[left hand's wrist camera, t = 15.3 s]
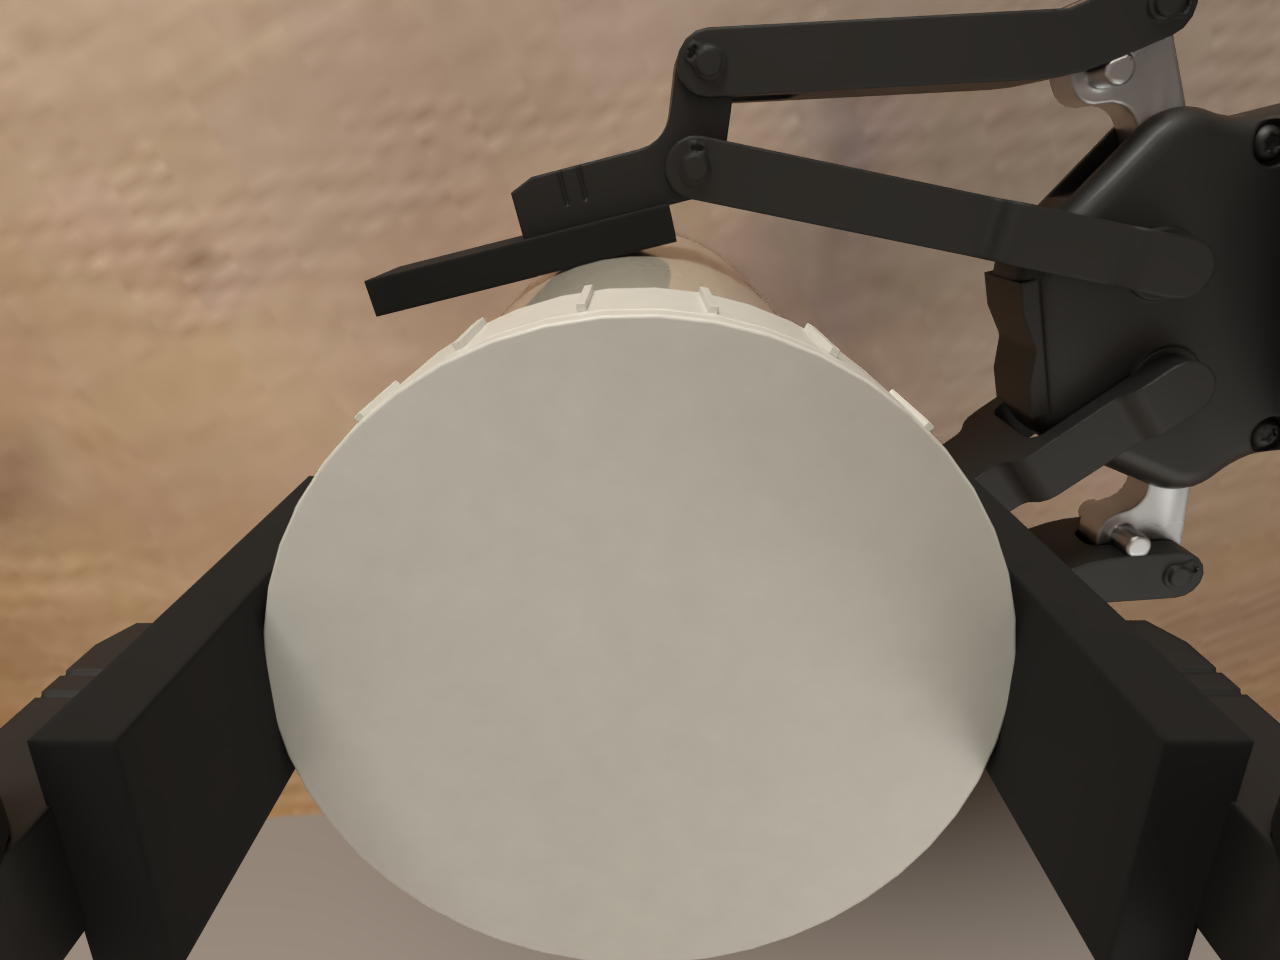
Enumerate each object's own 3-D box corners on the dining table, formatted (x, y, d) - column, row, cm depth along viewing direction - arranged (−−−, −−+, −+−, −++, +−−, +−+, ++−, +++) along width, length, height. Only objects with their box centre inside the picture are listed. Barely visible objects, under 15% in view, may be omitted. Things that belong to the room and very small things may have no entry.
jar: (828, 384, 26) (1090, 688, 11) (626, 542, 28) (609, 989, 13) (655, 167, 24) (684, 171, 9) (449, 355, 26) (175, 627, 11)
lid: (734, 130, 10) (757, 120, 8) (1064, 670, 12) (1144, 765, 11) (186, 533, 12) (95, 607, 10) (574, 934, 14) (563, 1056, 12)
